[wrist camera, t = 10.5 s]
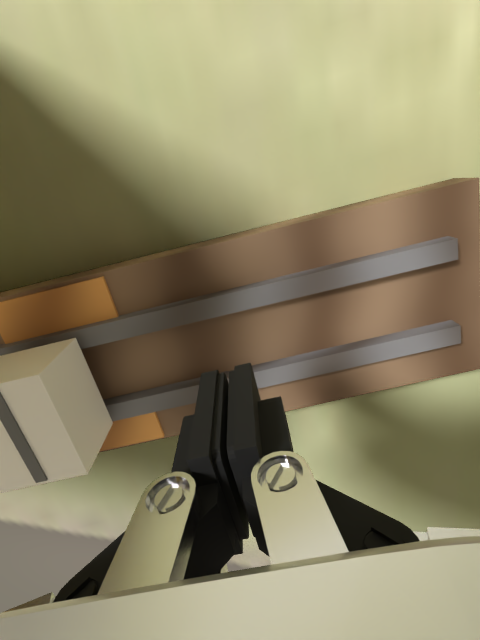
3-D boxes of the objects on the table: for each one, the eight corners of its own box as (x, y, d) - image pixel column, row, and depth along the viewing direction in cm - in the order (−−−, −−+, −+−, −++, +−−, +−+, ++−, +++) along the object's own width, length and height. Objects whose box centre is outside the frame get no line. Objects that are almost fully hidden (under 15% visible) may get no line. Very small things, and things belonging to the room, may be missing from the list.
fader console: (454, 178, 19) (490, 177, 16) (459, 352, 22) (491, 375, 19) (-59, 307, 20) (-102, 325, 18) (21, 450, 24) (-5, 483, 21)
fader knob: (83, 329, 18) (37, 375, 14) (118, 412, 20) (87, 475, 16) (9, 347, 19) (-60, 398, 14) (49, 427, 20) (-1, 494, 16)
